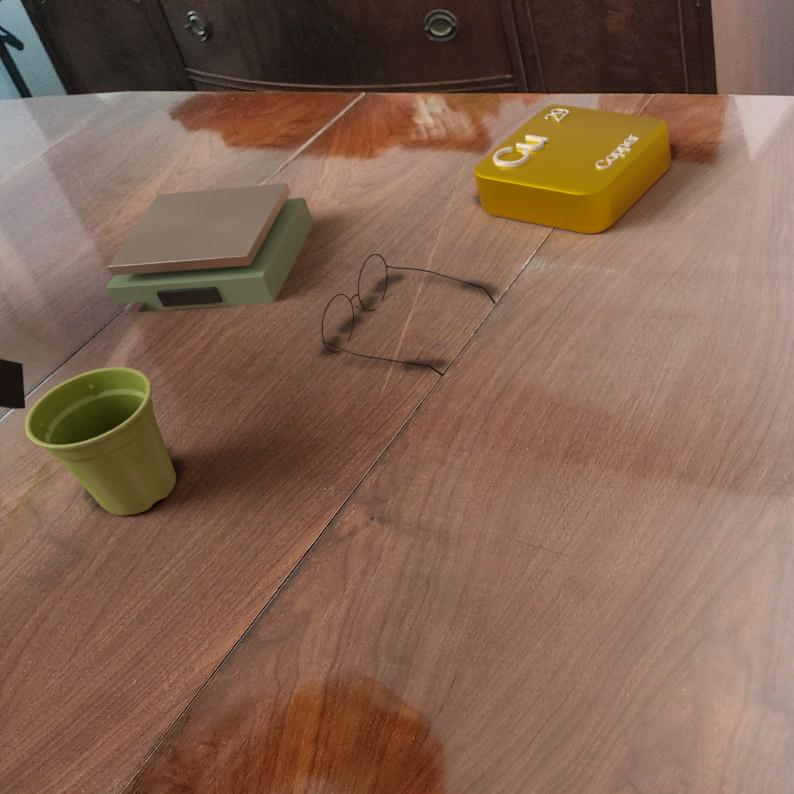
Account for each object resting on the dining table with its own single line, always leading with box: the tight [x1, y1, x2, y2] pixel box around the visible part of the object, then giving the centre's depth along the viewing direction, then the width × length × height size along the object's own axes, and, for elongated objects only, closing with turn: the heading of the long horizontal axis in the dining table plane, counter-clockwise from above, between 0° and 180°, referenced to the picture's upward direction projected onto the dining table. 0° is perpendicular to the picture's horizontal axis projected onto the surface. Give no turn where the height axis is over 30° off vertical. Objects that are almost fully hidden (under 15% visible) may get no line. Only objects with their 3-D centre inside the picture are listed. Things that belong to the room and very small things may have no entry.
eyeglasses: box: [321, 253, 497, 377], centre depth 97 cm, size 11×13×5 cm
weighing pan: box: [107, 182, 291, 277], centre depth 108 cm, size 14×13×1 cm
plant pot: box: [24, 366, 177, 516], centre depth 86 cm, size 9×9×9 cm
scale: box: [105, 197, 315, 313], centre depth 109 cm, size 16×14×4 cm
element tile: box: [473, 104, 672, 235], centre depth 110 cm, size 15×15×5 cm
